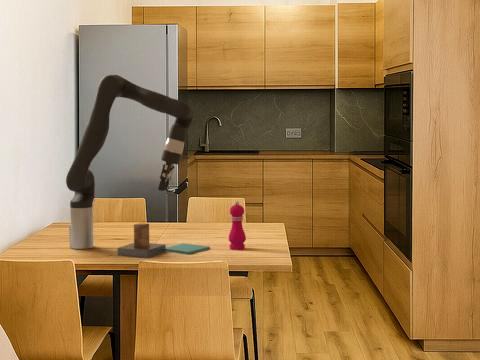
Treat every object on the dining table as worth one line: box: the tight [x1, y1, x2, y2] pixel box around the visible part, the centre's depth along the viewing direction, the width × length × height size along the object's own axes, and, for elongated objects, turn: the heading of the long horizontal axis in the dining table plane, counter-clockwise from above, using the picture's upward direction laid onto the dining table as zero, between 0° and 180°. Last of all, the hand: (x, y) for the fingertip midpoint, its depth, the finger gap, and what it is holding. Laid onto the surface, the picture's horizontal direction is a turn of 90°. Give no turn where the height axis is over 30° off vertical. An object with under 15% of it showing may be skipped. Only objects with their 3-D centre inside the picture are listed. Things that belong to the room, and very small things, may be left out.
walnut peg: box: [133, 222, 150, 248], centre depth 310 cm, size 4×4×12 cm
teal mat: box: [166, 242, 211, 255], centre depth 318 cm, size 14×14×1 cm
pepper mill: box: [228, 200, 247, 251], centre depth 319 cm, size 7×7×20 cm
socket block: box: [117, 242, 167, 259], centre depth 310 cm, size 14×14×3 cm
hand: (162, 190), depth 307 cm, fingers open, 8 cm apart
